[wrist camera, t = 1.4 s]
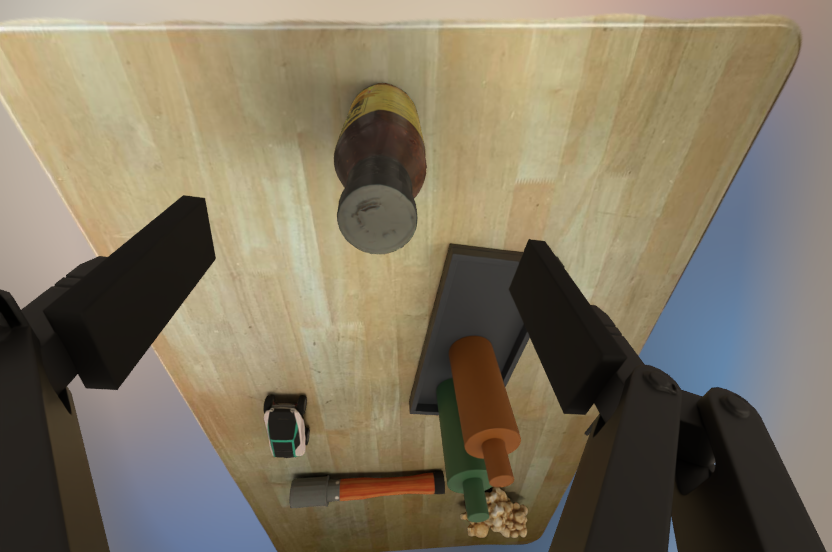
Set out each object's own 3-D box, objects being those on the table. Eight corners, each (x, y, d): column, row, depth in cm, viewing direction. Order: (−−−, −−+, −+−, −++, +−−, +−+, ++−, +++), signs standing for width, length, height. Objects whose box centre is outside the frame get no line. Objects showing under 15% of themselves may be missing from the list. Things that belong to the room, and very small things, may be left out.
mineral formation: (490, 479, 77) (541, 497, 81) (453, 494, 85) (502, 509, 89) (493, 524, 71) (548, 540, 75) (453, 534, 79) (505, 549, 83)
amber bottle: (454, 333, 49) (480, 465, 35) (498, 337, 50) (541, 467, 35) (444, 364, 53) (464, 495, 38) (485, 367, 54) (520, 496, 39)
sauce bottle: (353, 74, 31) (312, 132, 15) (423, 88, 32) (455, 157, 16) (348, 149, 35) (310, 261, 19) (410, 160, 36) (426, 275, 20)
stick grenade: (445, 482, 69) (286, 493, 66) (445, 504, 70) (289, 516, 68) (441, 461, 74) (293, 471, 71) (440, 482, 75) (295, 492, 73)
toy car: (275, 433, 62) (267, 464, 58) (267, 391, 55) (257, 422, 51) (310, 434, 63) (304, 464, 59) (306, 392, 56) (299, 423, 52)
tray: (450, 243, 42) (452, 253, 40) (557, 256, 44) (564, 266, 42) (409, 401, 59) (409, 413, 57) (487, 405, 61) (490, 417, 59)
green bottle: (440, 375, 54) (458, 506, 40) (480, 378, 55) (512, 506, 41) (432, 401, 58) (446, 528, 43) (470, 403, 59) (496, 529, 44)
